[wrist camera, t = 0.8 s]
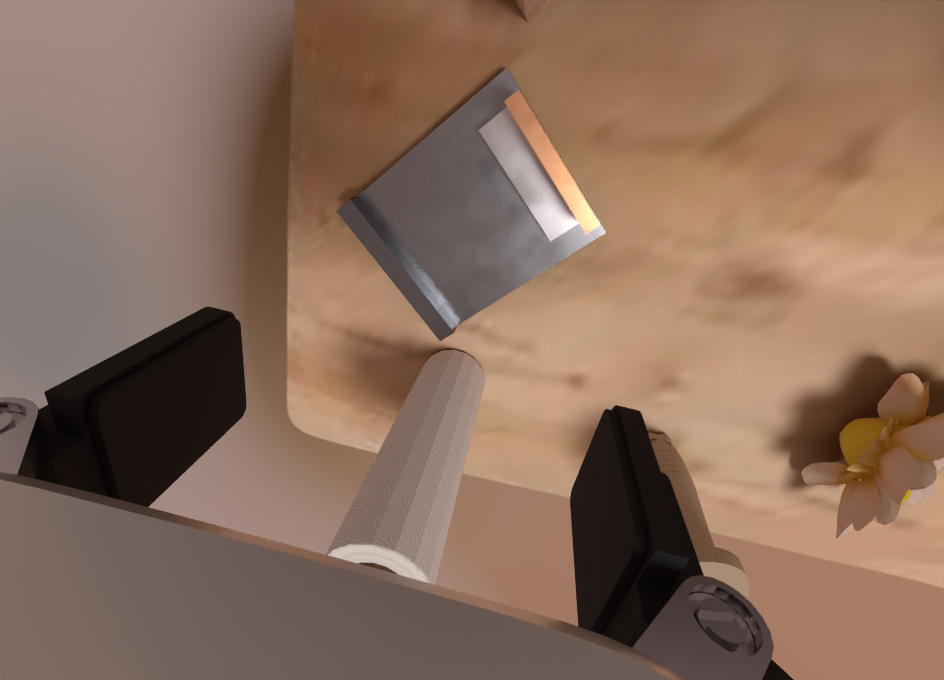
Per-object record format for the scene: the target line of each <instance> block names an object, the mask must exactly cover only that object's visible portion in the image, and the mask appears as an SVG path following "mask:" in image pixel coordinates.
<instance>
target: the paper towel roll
mask: <svg viewBox="0 0 944 680" xmlns="http://www.w3.org/2000/svg"><path fill="white" fill-rule="evenodd" d="M484 382H485V381H484V376H483V370H482V369H481V367H480V366H479V364H478V363H477V361H476V360H475V359H473V358H472V357H471V356H469V355H468V354H466V353H464V352H460V351H457V350H443V351H440V352H438V353H436V354H434V355H432V356H430V358H429V359H428V360H427V361H426V363H425V364H424V366H423V367H422V369H421V371H420V373H419V375H418V377H417V379H416V381H415V383H414V385H413V387H412V389H411V391H410V393H409V395H408V396H407V398H406V400H405V402H404V404H403V406H402V408H401V410H400V412H399V414H398V416H397V418H396V420H395V422H394V424H393V425H392V427H391V429H390V431H389V433H388V435H387V437H386V439H385V441H384V443H383V445H382V447H381V449H380V451H379V452H378V454H377V457H376V458H375V460H374V462H373V464H372V466H371V468H370V470H369V472H368V474H367V476H366V478H365V480H364V481H363V484H362V485H361V487H360V489H359V491H358V493H357V495H356V497H355V499H354V501H353V503H352V505H351V507H350V509H349V510H348V512H347V514H346V516H345V518H344V520H343V522H342V524H341V526H340V528H339V530H338V532H337V534H336V536H335V538H334V540H333V541H332V543H331V545H330V547H329V549H328V551H327V553H326V555H328V556H332V557H336V558H340V559H343V560H347V561H351V562H354V563H358V564H362V565H365V566H369V567H373V568H376V569H380V570H383V571H387V572H391V573H394V574H398V575H402V576H405V577H409V578H412V579H416V580H420V581H423V582H427V583H431V584H434V585H435V582H436V578H437V574H438V570H439V566H440V562H441V557H442V554H443V550H444V545H445V541H446V537H447V533H448V529H449V525H450V521H451V517H452V513H453V509H454V505H455V501H456V496H457V492H458V488H459V484H460V480H461V476H462V472H463V468H464V464H465V460H466V456H467V452H468V448H469V443H470V439H471V435H472V431H473V427H474V423H475V419H476V415H477V411H478V407H479V403H480V399H481V394H482V390H483V386H484Z"/></svg>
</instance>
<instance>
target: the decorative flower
mask: <svg viewBox="0 0 944 680" xmlns="http://www.w3.org/2000/svg"><path fill="white" fill-rule="evenodd" d="M928 403H929V381H925V382H921V381H920V379H919V378H918V377H917V376H916V375H915V374H913V373H908V374H903V375H901V376H900V377H899V378H898V379H897V380H896V381H895V383H894V384H893V385H892V387H891V388H890V389H889V390H888V392H887V393H886V394H885V395H884V396H883V398H882V399H881V400H880V402H879V403H878V409H877V411H878V414H879V417H880V418H862V419H855V420H853V421H852V422H850V423H849V424H847V425H846V426H845V427H844V429H843V430H842V431H841V433H840V434H839V437H840V446H841V449H842V453H843V455H844V457H845V459H842V460H840V461H837V462H822V463H812V464H810V465H809V466H807V467H805V468H804V469H803V471H802V473H801V474H802V477H803V480H804V482H805V483H806V484H818V485H832V484H835V485H836V484H844V483H846V486H845V488H844V491H843V493H842V496H841V500H840V504H839V508H838V516H837V534H836V540H837V539H839V538H841V537H842V536H844V535H846V534H848V533H849V532H850V531H851V530H852V528H853V527H854V529H855V530H856V531H859V530H861V529H862V528H863V527H865V526H866V525H867V524H868V523H870V522H871V521H872V520H873V519H874V517H875V515H876V518H877V522H878V523H881V524H884V525H886V524H888V523H890V522H892V521H894V519H895V518H896V516H897V515H898V512H899V510H900V507H901V505H906V506H914V505H916V504H918V503H920V502H922V501H924V500H925V499H927V498H929V497H930V496H931V494H932V492H933V491H934V481H935V479H936V476H937V475H936V471H939V470H940V469H941V468H942V467H943V466H944V412H943V413H940V414H938V415H936V416H934V417H931V415H928V416H925V415H926V413H927V408H928ZM930 417H931V418H930Z"/></svg>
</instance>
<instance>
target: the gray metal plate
mask: <svg viewBox="0 0 944 680" xmlns="http://www.w3.org/2000/svg"><path fill="white" fill-rule="evenodd" d="M517 90H520V88H519V87H518V85H517V83H516V82H515V80H514V78H513V77H512V75H511V73H510V72H509V70H508V69H507V68H506V69H505V70H503V71H502V72H501V73H500V74H499V75H498V76H496V77H495V78H494V79H493V80H492V81H491V82H489V83H488V84H487V85H486V86H485V87H484V88H482V89H481V90H480V91H479V92H478V93H477V94H476V95H474V96H473V97H472V98H471V99H470V100H469V101H467V102H466V103H465V104H464V105H463V106H462V107H460V108H459V109H458V110H457V111H456V112H455V113H453V114H452V115H451V116H450V117H449V118H448V119H447V120H445V121H444V122H443V123H442V124H441V125H440V126H438V127H437V128H436V129H435V130H434V131H433V132H431V133H430V134H429V135H428V136H427V137H426V138H425V139H423V140H422V141H421V142H420V143H419V144H418V145H416V146H415V147H414V148H413V149H412V150H411V151H409V152H408V153H407V154H406V155H405V156H404V157H402V158H401V159H400V160H399V161H398V162H397V163H396V164H394V165H393V166H392V167H391V168H390V169H389V170H387V171H386V172H385V173H384V174H383V175H382V176H380V177H379V178H378V179H377V180H376V181H375V182H373V183H372V184H371V185H370V186H369V187H368V188H367V189H365V190H364V191H363V192H362V193H361V194H360V195H358V196H356V197H354V198H351V199H349V200H348V201H347V202H346V203H345V204H344V205H342V206H341V207H340V208H339V209H338V210H337V212H338V213H339V215H340V216H341V217H342V218H343V220H344V221H345V222H346V223H347V225H348V226H349V227H350V228H351V230H352V231H353V232H354V233H355V235H356V236H357V237H358V239H359V240H360V241H361V242H362V244H363V245H364V246H365V247H366V249H367V250H368V251H369V252H370V254H371V255H372V256H373V257H374V259H375V260H376V261H377V262H378V264H379V265H380V266H381V267H382V269H383V270H384V271H385V272H386V274H387V275H388V276H389V278H390V279H391V280H392V281H393V283H394V284H395V285H396V286H397V288H398V289H399V290H400V291H401V293H402V294H403V295H404V296H405V298H406V299H407V300H408V301H409V303H410V304H411V305H412V306H413V308H414V309H415V310H416V311H417V313H418V314H419V315H420V317H421V318H422V319H423V320H424V322H425V323H426V324H427V325H428V327H429V328H430V329H431V330H432V332H433V333H434V334H435V335H436V337H437V338H438V339H439V340H440V341H441V340H443V339H444V338H446V337H448V336H449V335H451V334H453V333H454V332H455V329H456V327H457V325H459V324H460V323H462V322H463V321H465V320H467V319H468V318H470V317H471V316H473V315H475V314H476V313H478V312H479V311H481V310H483V309H484V308H486V307H487V306H489V305H491V304H492V303H494V302H495V301H497V300H499V299H500V298H502V297H503V296H505V295H507V294H508V293H510V292H511V291H513V290H515V289H516V288H518V287H519V286H521V285H523V284H524V283H526V282H528V281H529V280H531V279H532V278H534V277H536V276H537V275H539V274H540V273H542V272H544V271H545V270H547V269H548V268H550V267H552V266H553V265H555V264H556V263H558V262H560V261H561V260H563V259H564V258H566V257H568V256H569V255H571V254H572V253H574V252H576V251H577V250H579V249H580V248H582V247H584V246H585V245H587V244H588V243H590V242H592V241H593V240H595V239H597V238H598V237H600V236H601V235H603V234H605V233H606V232H605V230H604V228H603V227H602V225H601V223H600V222H599V223H600V226H598V227H597V228H595V229H593V230H592V231H590V232H589V233H587V234H585V232H584V230H583V229H582V227H581V226H580V224H577V225H576V226H574V227H572V228H571V229H569V230H568V231H566V232H565V233H563V234H562V235H560V236H559V237H557V238H555V239H554V240H552V241H551V242H550V240H549V238H548V237H547V235H546V234H545V232H544V231H543V229H542V228H541V226H540V225H539V223H538V221H537V220H536V218H535V217H534V215H533V214H532V212H531V211H530V209H529V208H528V206H527V204H526V203H525V201H524V200H523V198H522V197H521V195H520V194H519V192H518V191H517V189H516V187H515V186H514V184H513V183H512V181H511V180H510V178H509V177H508V175H507V174H506V172H505V171H504V169H503V167H502V166H501V164H500V163H499V161H498V160H497V158H496V157H495V155H494V154H493V152H492V150H491V149H490V147H489V146H488V144H487V143H486V141H485V140H484V138H483V137H482V135H481V133H480V132H479V129H481V128H482V127H483V126H484V125H485V124H487V123H488V122H489V121H490V120H492V119H493V118H494V117H495V116H496V115H498V114H499V113H500V112H501V111H503V110H504V109H505V108H506V107H507V106H506V104H505V102H504V101H505V100H507V99H508V98H509V97H510V96H511V95H513V94H514V93H515V92H516V91H517ZM520 91H521V90H520ZM521 93H522V92H521ZM522 94H523V93H522ZM523 96H524V95H523ZM525 99H526V98H525ZM526 101H527V100H526ZM528 104H529V103H528ZM529 106H530V105H529ZM531 109H532V108H531ZM532 111H533V110H532ZM534 114H535V113H534ZM535 116H536V115H535ZM537 119H538V118H537ZM538 121H539V120H538ZM540 124H541V123H540ZM541 126H542V125H541ZM543 129H544V128H543ZM544 131H545V130H544ZM546 134H547V133H546ZM547 136H548V135H547ZM549 139H550V138H549ZM550 141H551V140H550ZM552 144H553V143H552ZM553 146H554V145H553ZM555 149H556V148H555ZM556 151H557V150H556ZM558 154H559V153H558ZM559 156H560V155H559ZM561 159H562V158H561ZM562 161H563V160H562ZM564 164H565V163H564ZM565 166H566V165H565ZM567 169H568V168H567ZM568 171H569V170H568ZM570 174H571V173H570ZM571 176H572V175H571ZM573 179H574V178H573ZM574 181H575V180H574ZM576 184H577V183H576ZM577 186H578V185H577ZM579 189H580V188H579ZM580 191H581V190H580ZM582 194H583V193H582ZM583 196H584V195H583ZM585 199H586V198H585ZM586 201H587V200H586ZM588 204H589V203H588ZM589 206H590V205H589ZM591 209H592V208H591ZM592 211H593V210H592ZM594 214H595V213H594ZM595 216H596V215H595ZM596 218H597V217H596ZM597 220H598V218H597ZM598 221H599V220H598Z"/></svg>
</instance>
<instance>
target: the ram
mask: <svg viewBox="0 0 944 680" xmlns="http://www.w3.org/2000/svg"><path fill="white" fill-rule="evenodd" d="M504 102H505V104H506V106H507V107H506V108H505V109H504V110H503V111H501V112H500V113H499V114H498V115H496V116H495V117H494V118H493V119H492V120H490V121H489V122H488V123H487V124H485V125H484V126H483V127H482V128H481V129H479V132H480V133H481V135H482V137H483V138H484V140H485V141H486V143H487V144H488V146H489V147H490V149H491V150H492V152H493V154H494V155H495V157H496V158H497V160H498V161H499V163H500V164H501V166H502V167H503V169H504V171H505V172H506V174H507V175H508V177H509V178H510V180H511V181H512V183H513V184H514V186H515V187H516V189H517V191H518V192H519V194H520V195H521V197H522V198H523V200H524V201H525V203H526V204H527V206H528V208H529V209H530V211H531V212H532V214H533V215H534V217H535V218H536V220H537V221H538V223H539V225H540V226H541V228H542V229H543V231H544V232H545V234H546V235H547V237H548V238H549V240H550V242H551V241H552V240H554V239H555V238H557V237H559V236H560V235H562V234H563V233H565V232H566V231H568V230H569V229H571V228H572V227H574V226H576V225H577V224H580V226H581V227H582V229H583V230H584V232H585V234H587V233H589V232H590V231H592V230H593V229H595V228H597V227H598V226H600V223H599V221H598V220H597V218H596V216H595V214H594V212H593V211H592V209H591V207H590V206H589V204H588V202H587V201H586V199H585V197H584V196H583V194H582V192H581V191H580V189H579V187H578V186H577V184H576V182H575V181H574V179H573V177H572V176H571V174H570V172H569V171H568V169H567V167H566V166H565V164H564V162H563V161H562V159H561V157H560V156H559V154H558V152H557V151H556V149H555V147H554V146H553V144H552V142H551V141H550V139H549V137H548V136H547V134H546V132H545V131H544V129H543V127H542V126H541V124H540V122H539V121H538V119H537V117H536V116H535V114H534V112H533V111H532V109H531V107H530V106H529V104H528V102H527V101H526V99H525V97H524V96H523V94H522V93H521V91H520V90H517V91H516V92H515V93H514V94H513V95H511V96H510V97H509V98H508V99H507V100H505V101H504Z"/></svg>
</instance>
